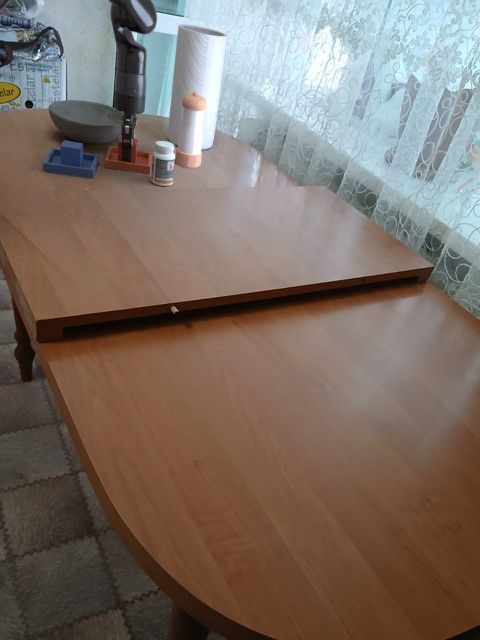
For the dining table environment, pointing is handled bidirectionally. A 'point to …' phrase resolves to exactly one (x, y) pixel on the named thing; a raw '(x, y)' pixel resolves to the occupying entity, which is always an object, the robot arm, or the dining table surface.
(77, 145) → the blue block
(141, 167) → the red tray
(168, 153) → the pill bottle
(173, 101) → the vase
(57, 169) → the blue tray
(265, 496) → the dining table surface
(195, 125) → the salt shaker
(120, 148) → the red block
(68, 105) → the bowl
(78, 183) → the dining table surface
